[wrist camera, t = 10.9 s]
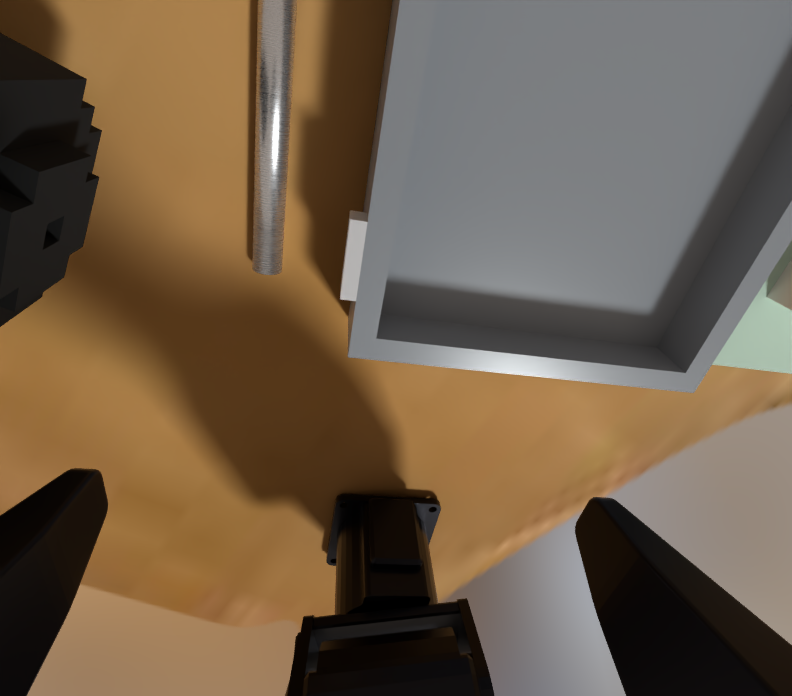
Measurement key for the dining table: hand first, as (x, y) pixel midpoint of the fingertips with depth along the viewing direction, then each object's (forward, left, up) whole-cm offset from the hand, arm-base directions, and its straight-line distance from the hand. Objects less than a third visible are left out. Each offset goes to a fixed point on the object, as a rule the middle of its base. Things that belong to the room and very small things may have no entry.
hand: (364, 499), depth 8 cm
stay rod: (+6, +3, -12) cm, 14 cm away
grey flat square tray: (+6, -8, -13) cm, 16 cm away
